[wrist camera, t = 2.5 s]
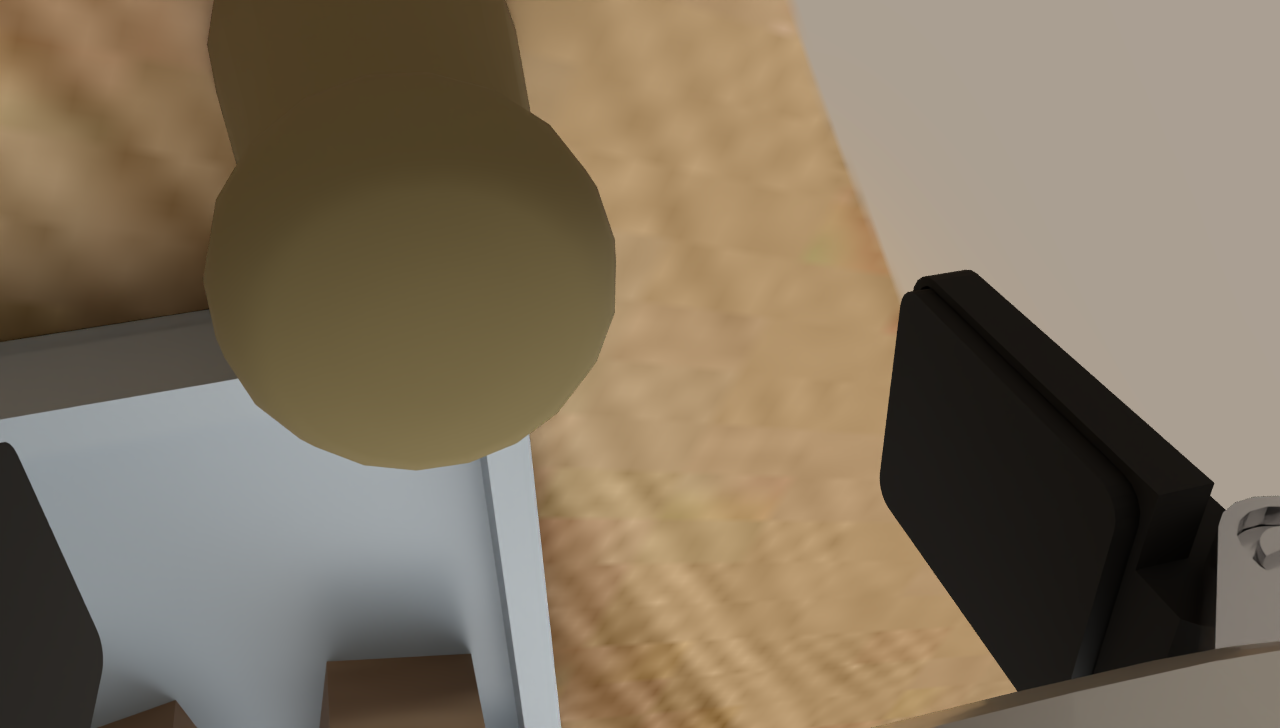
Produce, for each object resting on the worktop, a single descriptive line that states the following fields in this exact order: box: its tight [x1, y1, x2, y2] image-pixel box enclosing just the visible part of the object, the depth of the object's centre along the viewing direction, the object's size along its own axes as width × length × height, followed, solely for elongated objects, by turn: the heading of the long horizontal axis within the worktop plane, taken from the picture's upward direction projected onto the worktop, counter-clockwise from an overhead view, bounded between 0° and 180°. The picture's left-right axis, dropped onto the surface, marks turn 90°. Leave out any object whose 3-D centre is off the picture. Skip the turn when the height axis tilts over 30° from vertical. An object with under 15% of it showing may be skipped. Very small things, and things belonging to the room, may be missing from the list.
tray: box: [0, 309, 561, 728], centre depth 27 cm, size 18×16×3 cm
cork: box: [203, 0, 616, 471], centre depth 17 cm, size 6×6×11 cm
